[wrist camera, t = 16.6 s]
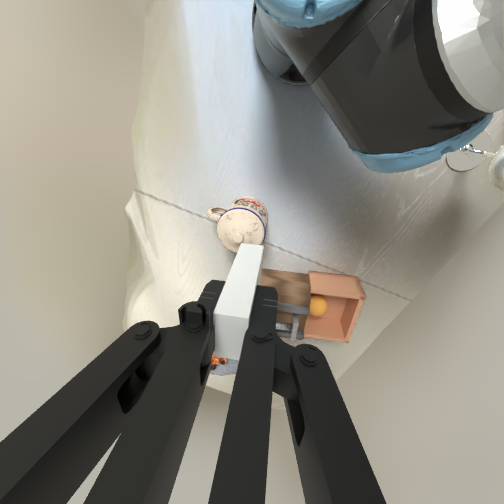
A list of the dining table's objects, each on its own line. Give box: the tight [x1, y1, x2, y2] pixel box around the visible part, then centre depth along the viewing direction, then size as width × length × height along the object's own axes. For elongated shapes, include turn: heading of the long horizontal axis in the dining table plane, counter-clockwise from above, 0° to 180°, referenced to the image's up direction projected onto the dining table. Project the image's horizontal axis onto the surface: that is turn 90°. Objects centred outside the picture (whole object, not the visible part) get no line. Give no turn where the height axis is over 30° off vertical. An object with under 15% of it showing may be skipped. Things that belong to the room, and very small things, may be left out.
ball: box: [309, 294, 328, 316], centre depth 56 cm, size 5×5×5 cm
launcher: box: [260, 269, 311, 340], centre depth 55 cm, size 14×12×10 cm
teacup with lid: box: [207, 196, 268, 253], centre depth 46 cm, size 12×9×12 cm
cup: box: [304, 271, 366, 343], centre depth 55 cm, size 11×14×7 cm
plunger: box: [276, 313, 299, 341], centre depth 47 cm, size 10×10×9 cm
